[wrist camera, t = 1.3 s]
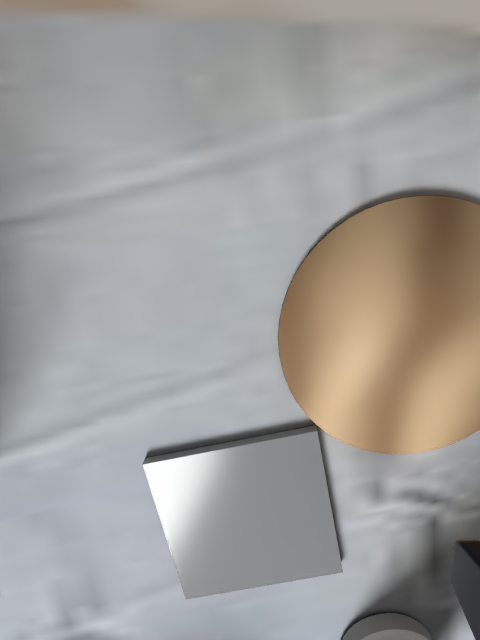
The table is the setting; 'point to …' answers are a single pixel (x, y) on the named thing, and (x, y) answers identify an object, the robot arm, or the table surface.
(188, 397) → the table surface
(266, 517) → the stone coaster
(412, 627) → the travel mug
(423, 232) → the cork trivet
